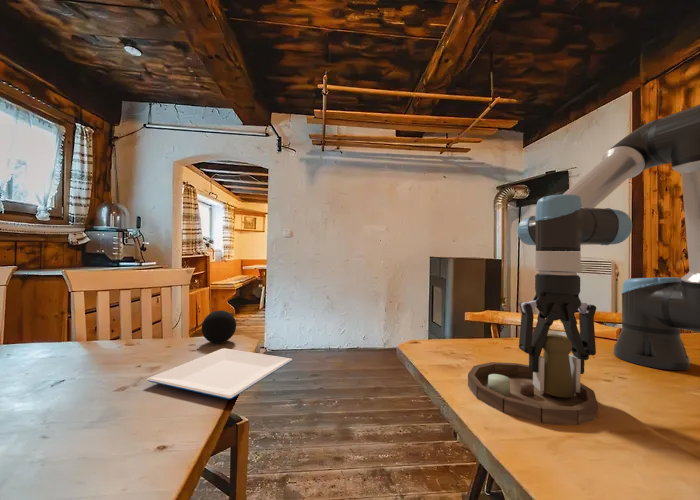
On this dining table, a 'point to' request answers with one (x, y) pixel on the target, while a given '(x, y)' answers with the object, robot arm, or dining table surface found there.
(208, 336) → the decorative ball
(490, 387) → the pale beige rounded lump
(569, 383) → the olive green knobbed peg
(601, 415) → the dining table surface
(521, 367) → the tray
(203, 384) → the plate
